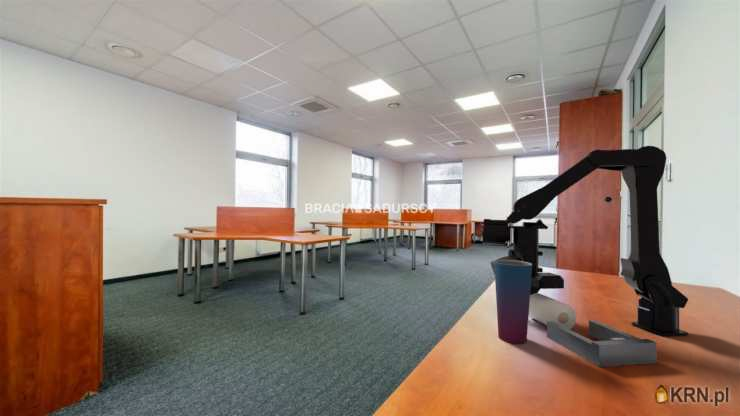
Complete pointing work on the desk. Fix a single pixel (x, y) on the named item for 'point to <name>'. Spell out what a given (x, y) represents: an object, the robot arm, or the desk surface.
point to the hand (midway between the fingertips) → (525, 308)
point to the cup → (512, 299)
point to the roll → (551, 311)
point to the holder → (605, 345)
